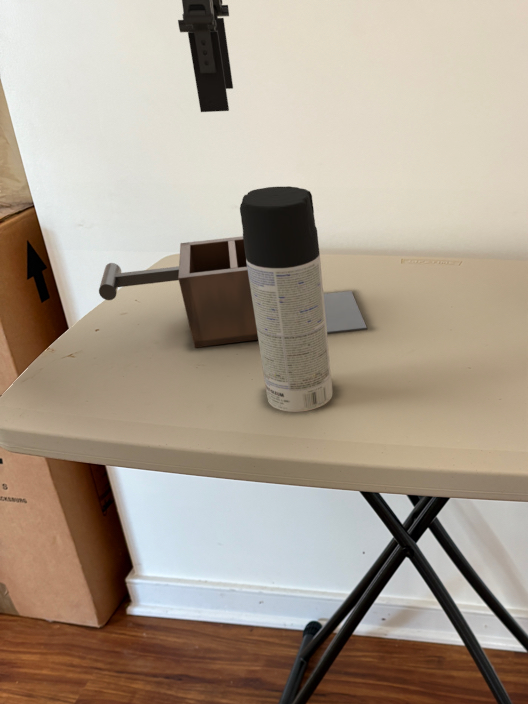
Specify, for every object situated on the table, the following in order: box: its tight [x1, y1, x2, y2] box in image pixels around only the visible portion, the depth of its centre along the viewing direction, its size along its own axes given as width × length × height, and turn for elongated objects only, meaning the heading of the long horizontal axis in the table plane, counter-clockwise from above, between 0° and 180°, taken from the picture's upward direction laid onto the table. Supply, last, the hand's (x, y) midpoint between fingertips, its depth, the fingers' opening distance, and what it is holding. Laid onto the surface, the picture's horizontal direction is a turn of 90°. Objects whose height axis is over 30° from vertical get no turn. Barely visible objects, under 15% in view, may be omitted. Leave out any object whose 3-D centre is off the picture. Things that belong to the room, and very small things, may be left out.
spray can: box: [239, 186, 333, 413], centre depth 71 cm, size 7×7×20 cm
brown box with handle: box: [98, 235, 258, 348], centre depth 89 cm, size 8×12×21 cm
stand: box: [323, 290, 368, 335], centre depth 93 cm, size 8×12×1 cm, turn 12°
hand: (218, 99), depth 80 cm, fingers open, 13 cm apart
